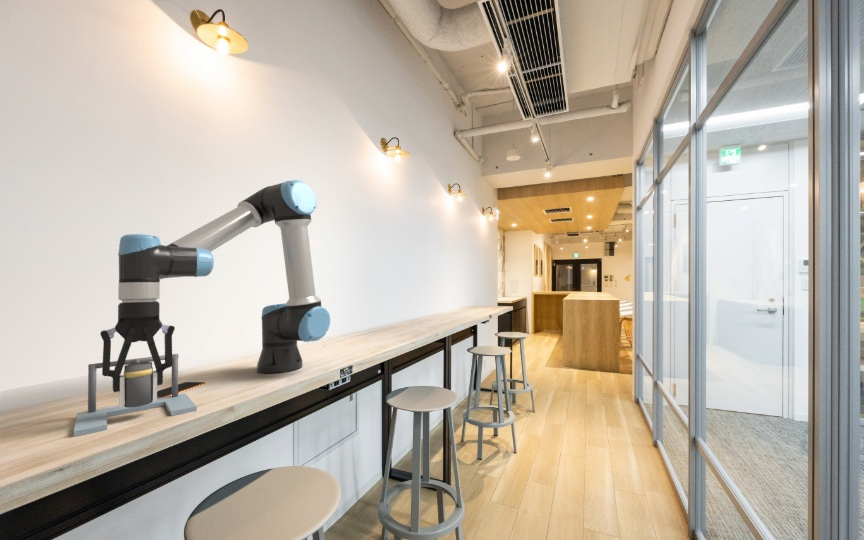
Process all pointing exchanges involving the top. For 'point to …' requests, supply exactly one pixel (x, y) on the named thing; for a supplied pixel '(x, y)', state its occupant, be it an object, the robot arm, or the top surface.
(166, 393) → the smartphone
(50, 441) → the top surface
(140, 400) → the yellow-banded grey cylinder
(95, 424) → the arch on base
